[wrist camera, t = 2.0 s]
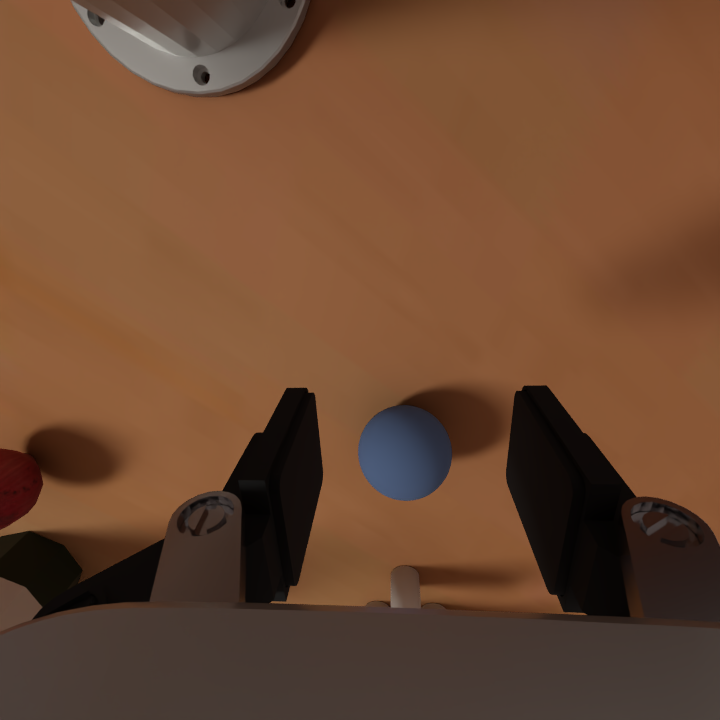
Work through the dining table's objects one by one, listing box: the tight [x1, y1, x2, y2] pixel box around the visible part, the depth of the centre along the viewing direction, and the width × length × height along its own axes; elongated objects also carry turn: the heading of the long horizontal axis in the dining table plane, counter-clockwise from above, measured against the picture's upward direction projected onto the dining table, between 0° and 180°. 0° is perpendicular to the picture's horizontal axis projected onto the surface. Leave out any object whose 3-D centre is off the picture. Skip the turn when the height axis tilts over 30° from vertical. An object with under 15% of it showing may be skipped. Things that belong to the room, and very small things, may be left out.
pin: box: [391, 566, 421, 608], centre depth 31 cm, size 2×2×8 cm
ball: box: [358, 405, 452, 501], centre depth 26 cm, size 6×6×6 cm
